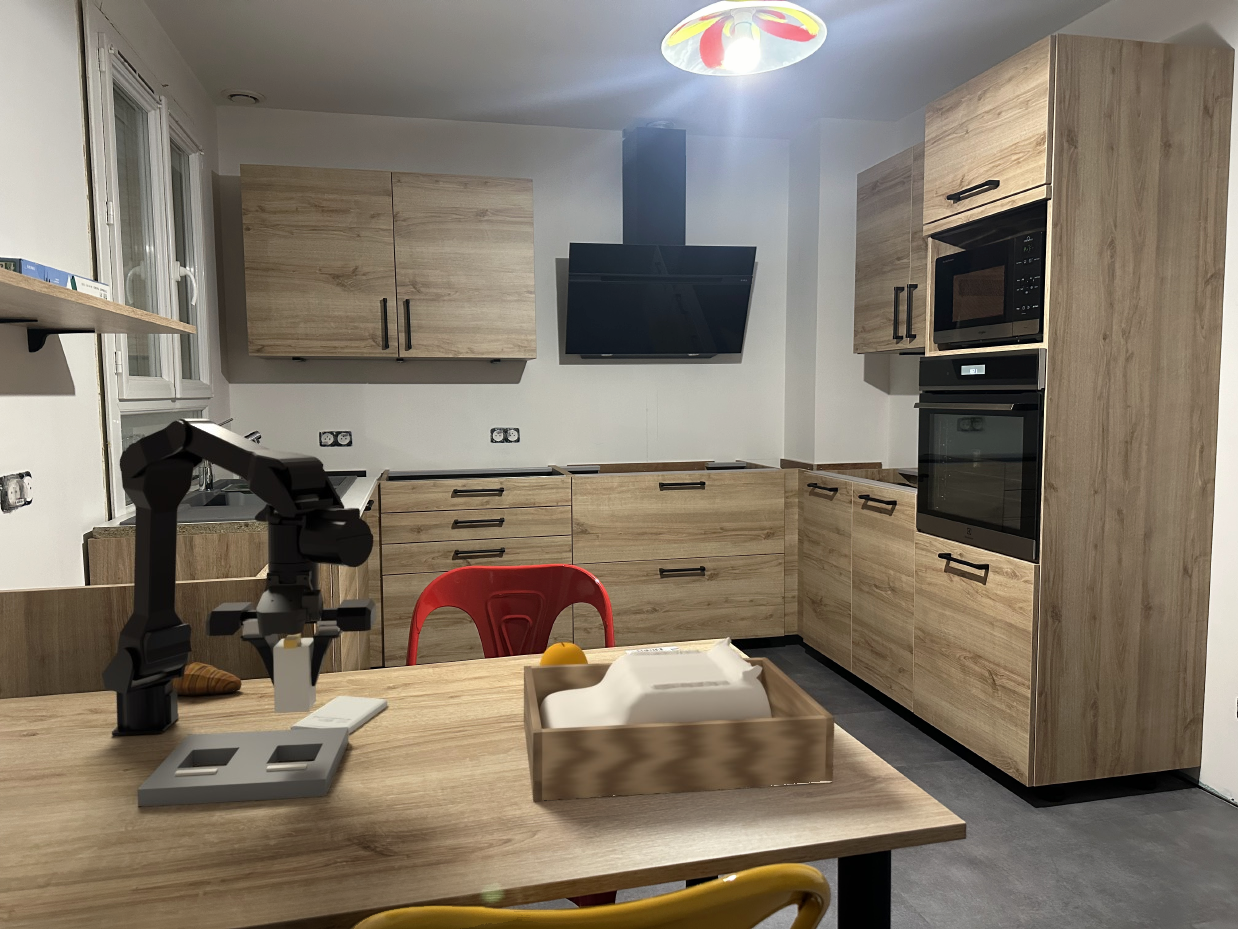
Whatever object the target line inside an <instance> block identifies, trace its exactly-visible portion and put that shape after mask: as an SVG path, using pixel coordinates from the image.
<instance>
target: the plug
mask: <svg viewBox="0 0 1238 929" xmlns="http://www.w3.org/2000/svg"><path fill="white" fill-rule="evenodd" d="M313 649H314V642H313V637H302V633H299V634H296V635H288V634H287V636H286V637H285V638H281V639H280V640H278V643H277V644H276V645H275V647H274V648H273V653H274V686H273V695H274V696H273V702H274V704H273V705H274V709H273V710H274V711H273V712H274V714H289V713H290V714H291V713H294V714H295V713H309V712H310V711H311V710H312V709H313V706H315V703H316V701H317V684H316V685H315V686H312V683H311V670H312V659H313Z"/></svg>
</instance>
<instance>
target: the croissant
mask: <svg viewBox="0 0 1238 929" xmlns="http://www.w3.org/2000/svg"><path fill="white" fill-rule="evenodd" d="M241 688H242V681H241V679H240V677H238V676H236V675H234V674H232V673H230V672H228V671H225V670H222V669H218V668H217V667H215V666H213V665H211V664H206V663H201V662H199V661H195V662H193V663H190V664H188V665H187V664H186V667H185V672H184V676H183V677H181V678H175V679H173V689H176V690H177V696H178V695H179V696H189V697H191V696H203V695H217V694H227V693H228V694H229V693H234V692H238V691H240V690H241Z"/></svg>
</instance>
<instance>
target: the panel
mask: <svg viewBox="0 0 1238 929" xmlns="http://www.w3.org/2000/svg"><path fill="white" fill-rule="evenodd" d="M348 743H349V734H348V727H339V728H317V729H296V730H291V729H279V730H259V731H257V730H255V731H238V732H237V731H236V732H216V733H215V732H214V733H213V732H212V733H194V734H193V733H191V734H187V735H186V736H185V738H184V739H183V740H182V741H181V742H180V743H179V744H178V745H177V746H176V747H175V748H174V750H173V751H172V752H171V753H170V754H169V755H168V756H167V757H166V758H165V759H164V760H163V761H162V762H161V763H160V765H158V767H157V768H156V769H155V770H154V771H152V773H151V774H150V775H149V776H148V777H147V779H146V780H145V781H144V782H143V783H141V785H140V786H139V787H138V788H137V807H138V806H147V807H159V806H160V805H161V807H163V806H162V805H164V806H177V805H178V806H179V805H180V806H181V805H193V804H194V805H195V804H197V805H198V804H212V803H228V802H229V803H230V802H245V801H262V800H263V801H264V800H265V801H266V800H278V799H279V800H280V799H283V800H284V799H295V798H298V799H300V798H312V797H313V798H315V797H326V796H327V793H328V791H329V789H330V786H331V784H332V782H333V779H334V777H335V774H336V773H337V769H338V768H339V765H340V762H341V760H342V758H343V755H344V753H345V751H346V749H347V746H348ZM303 760H304V761H303ZM305 760H307V761H305ZM308 760H314V761H308ZM285 761H287V762H285ZM289 761H292V762H289ZM293 761H294V762H293ZM225 764H226V765H225ZM205 765H206V766H205ZM209 765H210V766H209ZM211 765H213V766H211ZM214 765H217V766H214ZM193 766H195V767H193ZM196 766H197V767H196ZM198 766H199V767H198Z"/></svg>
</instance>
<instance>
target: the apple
mask: <svg viewBox="0 0 1238 929" xmlns="http://www.w3.org/2000/svg"><path fill="white" fill-rule="evenodd" d="M573 664H589V661H588V659H587V657H586V654H585V652H584V651H583V649H581V647H579V645H576V644H575V643H572V642H557V643H555V644H552V645H551V646H549V647H547V649H546V650H545V651H544V652H543V654H542V656H541V659H540V662H539V666H545V665H573Z"/></svg>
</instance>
